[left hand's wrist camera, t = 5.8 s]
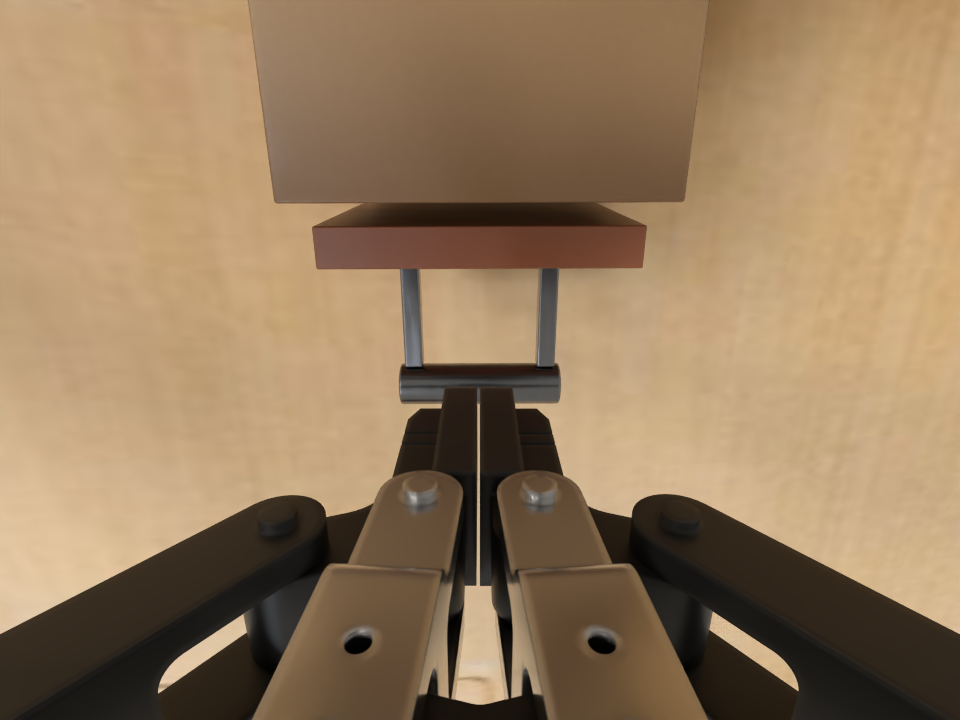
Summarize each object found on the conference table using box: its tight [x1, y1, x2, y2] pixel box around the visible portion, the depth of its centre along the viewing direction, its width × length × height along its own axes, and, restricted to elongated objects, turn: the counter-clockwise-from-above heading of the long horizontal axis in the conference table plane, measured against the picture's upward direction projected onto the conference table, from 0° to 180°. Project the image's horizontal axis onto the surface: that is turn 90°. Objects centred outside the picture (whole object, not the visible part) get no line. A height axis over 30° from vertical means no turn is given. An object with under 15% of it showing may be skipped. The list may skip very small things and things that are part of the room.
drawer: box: [312, 202, 647, 404], centre depth 17 cm, size 22×9×8 cm, turn 0°
